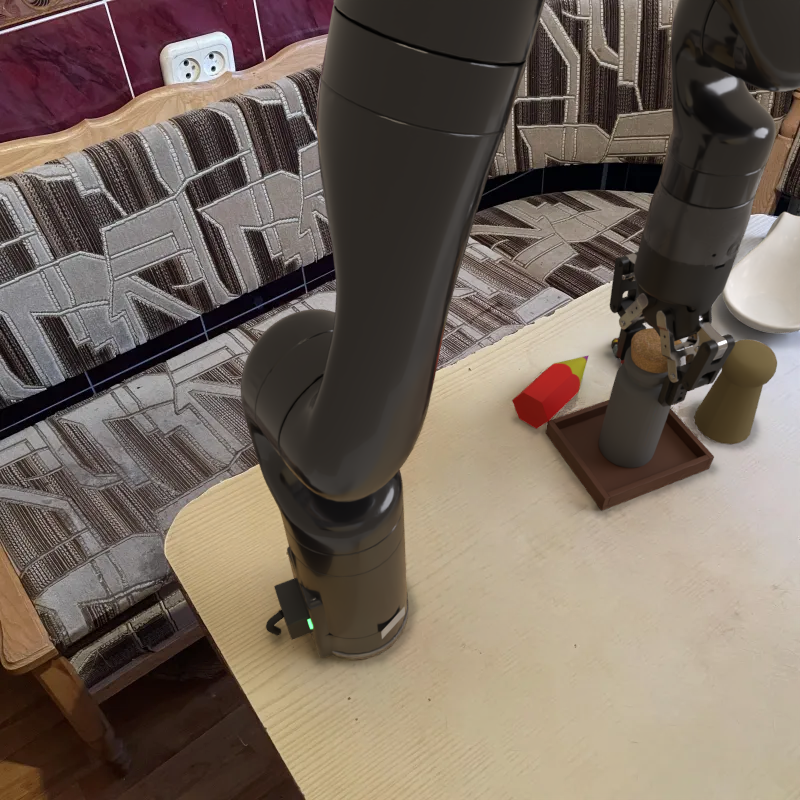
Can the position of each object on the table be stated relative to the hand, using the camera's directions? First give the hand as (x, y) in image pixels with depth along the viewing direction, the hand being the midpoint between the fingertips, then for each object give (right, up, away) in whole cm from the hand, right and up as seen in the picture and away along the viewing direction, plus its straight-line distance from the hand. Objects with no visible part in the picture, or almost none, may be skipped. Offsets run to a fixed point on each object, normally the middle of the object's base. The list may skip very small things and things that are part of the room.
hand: (647, 378), depth 73 cm
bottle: (0, -7, +8) cm, 11 cm away
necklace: (+7, +4, +19) cm, 20 cm away
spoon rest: (+24, +12, +26) cm, 38 cm away
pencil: (-6, -2, +14) cm, 15 cm away
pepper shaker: (+12, -5, +11) cm, 17 cm away
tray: (0, -8, +8) cm, 11 cm away
